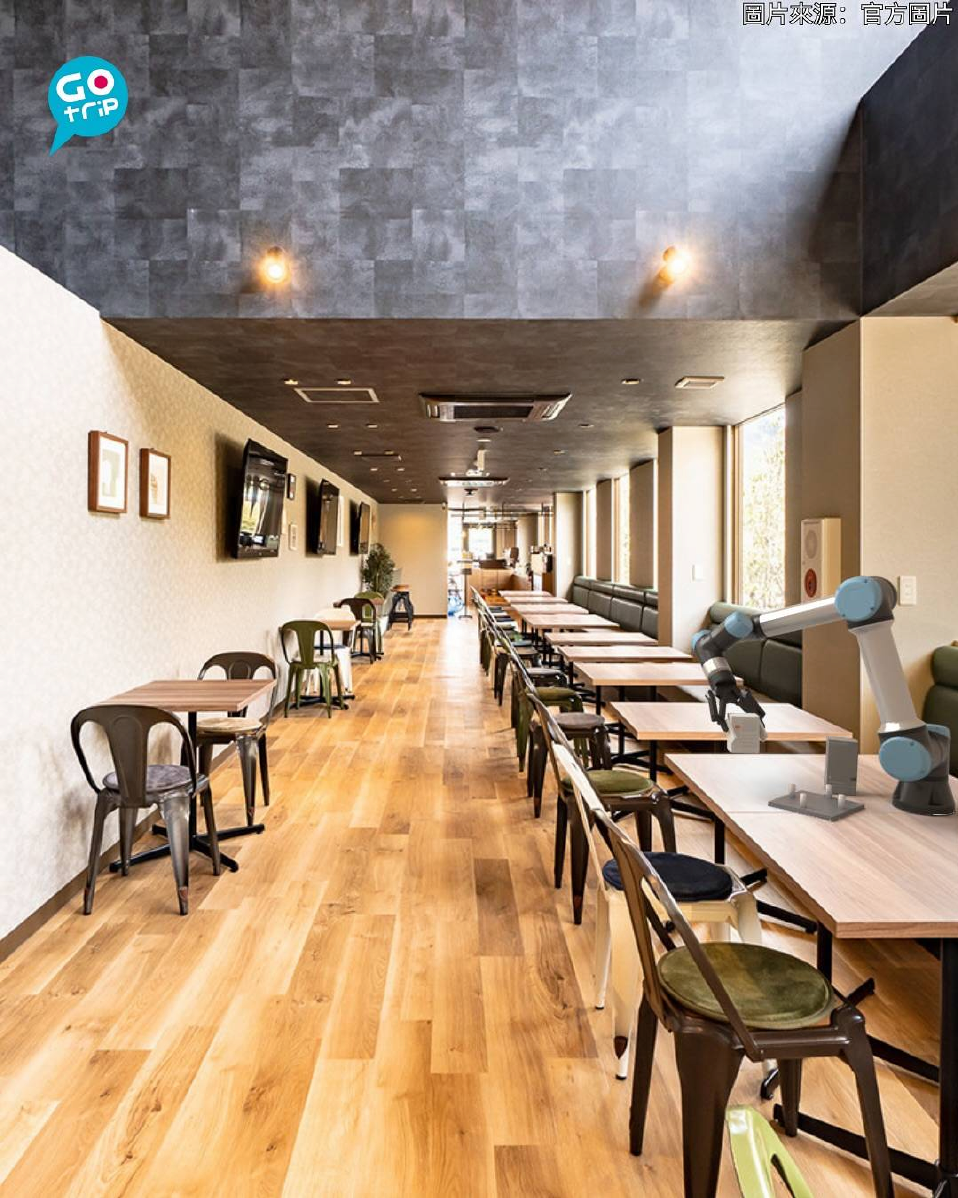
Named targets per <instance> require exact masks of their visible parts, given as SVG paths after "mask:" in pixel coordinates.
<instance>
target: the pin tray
mask: <svg viewBox="0 0 958 1198" xmlns="http://www.w3.org/2000/svg"><path fill="white" fill-rule="evenodd" d="M788 788H789V790H788V794H786V795H784V796H780V797H777V798H775V799H771V800H768V801H767V805H768V806H769V807H773V808H776V809H779V810H780V809H781V810H784V811H788V812H792V813H796V812H798V813H797V814H800V813H801V814H800V815H804V814H806V815H805V816H808V815H810V816H809V817H812V816H814V817H813V818H816V817H817V819H820V818H821V820H824V819H825V821H828V820H831V821H830V822H834V821H833V820H835V821H837V820H840V819H842V818H844V817H847V816H849V815H851V813H852V814H854V813H856V812H857V813H858V812H859V811H861V810H862V811H863V809H865V806H866V805H865V803H862V802H857V801H852V800H849V799H846V795H843V794H837V795H838V797H834V796H833V794H832V785H829V784H827V785H826V790H825V794H821V793H817V792H812V791H808V790H804V789H800V790H797V791H796V784H795V783H789V786H788ZM853 812H854V813H853ZM848 814H849V815H848ZM846 815H847V816H846ZM839 818H840V819H839Z"/></svg>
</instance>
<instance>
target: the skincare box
mask: <svg viewBox="0 0 958 1198" xmlns="http://www.w3.org/2000/svg"><path fill="white" fill-rule="evenodd" d="M825 739H826V742H825V747H826V748H825V761H824V780H823V788H824V791H826V785H827V784H829V785H832V795H839V794H843V795H845V796H854V797H855V796H856V795H857V782H858V764H859V763H858V761H859V760H858V759H859V745H860V744H859V741H858V740H857V739H856V738H854V737H852V738H850V737H844V736H832V735H827V736H826V737H825Z"/></svg>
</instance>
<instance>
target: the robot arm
mask: <svg viewBox="0 0 958 1198" xmlns="http://www.w3.org/2000/svg"><path fill="white" fill-rule="evenodd" d="M898 595H899V594H898V591H897V588H896V587H895V585H894V583H892V581H890V580H889V579H887V578H885V577H884V576H883V577H882V576H879V575H870V576H869V575H868V576H867V575H858V576H854V577H851V578H847V579H846V580H844V581H843V582H842V583H840V584H839V586H838V587H837V589H836V591H835V593H834V594H830V595H827V596H823V597H820V598H816V599H813V600H812V599H811V600H808V601H805V602H804V601H803V602H800V603H798V604H797V603H796V604H793V605H789V606H785V607H782V608H781V607H780V608H777V609H774V610H770V611H766V612H762V613H758V614H755V615H751V616H747V614H745V613H744V612H742V611H735V612H733V613H732V614H730V615H728V616H727V617H725V619H723V621H722V622H721V623H720V624H719V625H718V626H716V627H715V628H714V629H712V630H709V629H704V630H700V631H699V632H695V634H693V635H692V637H691V640H690V644H691V647H692V649H693V654H694V655H695V657H696V658H697V661H698V663H699V664H700V666H701V668H702V672H703V674H704V676H705V678H706V680H707V683H708V685H709V687H710V689H708V690H707V691H706V692H705V695H704V697H705V698H706V700H707V703H708V710H709V714H710V720H711V722H713V723H715V722H716V725H718V726H720V727H721V730H722V731H723V733H726V737H727V736H728V738H729V741H730V743H731V744H733V743H734V742H735V741H736V739H737V737H736V734H735V732H734V730H733V728H732V726H731V723H730V721H729V719H727V718H726V716H727V715H726V714H727V705H728V704H734V705H735V706H736V707H739V709H741V710H742V711H743V713H755V714H757V715H758V716H759V717H760V741H761V742H762V743H764V742H765V741H767V739H768V737H769V735H768V732H767V731H766V724H765V723H764V721H763V719H764V718H765V716H766V715H767V713H766V712H765V709H763V708H762V706H761V705H760V703H758V701H757V700H756V699H755V697H754V696H753V694H752V692H751V689H750V688H749V687H745V689H741V688H740V687H739V686H738V684H737V679H736V677H735V675H734V674H733V672H732V669H731V667H730V665H729V663H728V661H727V659H726V657H725V653H727V652H729V650H731V649H732V648H733V647H735V646H736V645H738V644H739V643H747V642H757V641H760V640H763V639H767V638H770V637H774V636H778V635H779V636H780V635H783V634H788V633H791V632H795V631H799V630H804V629H808V628H811V627H817V626H822V625H826V624H829V623H833V622H837V621H842V620H844V621H845V625H846V627H847V631H848V632H849V633H851V634H853V635H854V636H855V637H856V639H857V644H858V647H859V650H860V654H861V659H862V661H863V665H864V668H865V672H866V675H867V679H868V682H869V685H870V689H871V692H872V695H873V699H874V703H875V706H876V710H877V712H878V716H879V720H880V727H878V730H877V734H878V740H879V742H880V748H879V750H878V761H879V764H880V766H881V768H882V769H883V771H884V772H885V773H886V774H887V775H889V776H890V777H891V778H894V779H895V780H898V781H897V783H896V786H895V788H894V791H893V793H892V799H891V800H892V802H891V803H892V806H893V807H895V808H897V809H899V810H902V811H905V812H908V813H913V814H917V813H918V814H917V815H924V814H929V815H928V816H934V815H933V814H950V813H953V812H955V813H956V801H955V798H954V795H953V792H952V790H951V786H950V782H949V781H950V779H949V777H950V776H949V775H950V774H949V773H950V753H951V752H950V751H951V750H950V748H951V739H952V738H951V731H950V728H948V727H947V726H944V725H939V724H933V723H932V724H931V723H926V722H925V721H924V720H921V719H919V718H918V717H917V716H918V715H917V712H916V709H915V706H914V703H913V699H912V696H911V693H910V689H909V686H908V682H907V679H906V676H905V673H904V669H903V666H902V663H901V662H902V661H901V659H900V656H899V655H900V654H899V652H898V648H897V645H896V642H895V641H896V640H895V638H894V635H893V632H892V631H893V630H892V629H891V628H892V626H893V625H894V623H895V621H896V620H895V616H894V613H893V611H894V609H895V608H896V606H897V603H898V600H899V599H898V597H899V596H898ZM716 698H717V699H718V705H717V700H716ZM718 706H719V707H718ZM919 813H920V814H919ZM930 814H931V815H930ZM953 814H954V813H953ZM950 815H951V814H950Z"/></svg>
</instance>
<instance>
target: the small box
mask: <svg viewBox="0 0 958 1198" xmlns="http://www.w3.org/2000/svg"><path fill="white" fill-rule="evenodd" d="M726 719H729V721H730V723H731V726H732V728H733V730H734V732H735V734H736V737H737V739H736V741H735V742H734V743H733V744H731V743H730V741H729V738H728V736H727V735H726V737H727V739H726V741H727V743H726V745H727V746H726V747H727V749H728V751H729V752H730V753H731V754H732V753H733V754H760V752H761V751H760V748H761V746H760V741H761V739H760V717H759V716H758V715H757V714H755V713H745V712H727V718H726Z"/></svg>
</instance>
